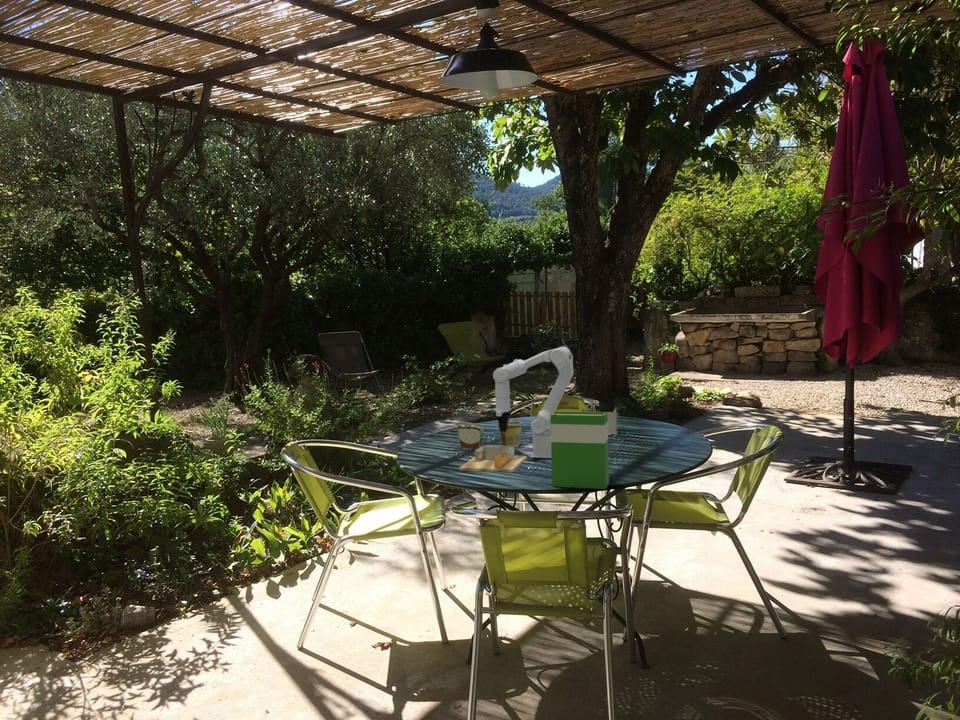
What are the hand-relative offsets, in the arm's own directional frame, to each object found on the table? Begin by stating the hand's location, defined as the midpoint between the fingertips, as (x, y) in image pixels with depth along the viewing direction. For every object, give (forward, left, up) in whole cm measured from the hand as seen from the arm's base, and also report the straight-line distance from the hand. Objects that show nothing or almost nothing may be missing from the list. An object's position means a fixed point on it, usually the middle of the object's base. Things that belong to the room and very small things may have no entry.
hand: (503, 431), depth 302 cm
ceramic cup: (+1, -17, -10) cm, 20 cm away
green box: (-38, +43, -10) cm, 58 cm away
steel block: (0, +13, -8) cm, 15 cm away
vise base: (-1, +17, -9) cm, 20 cm away
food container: (+16, -11, -10) cm, 22 cm away
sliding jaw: (-5, +18, -8) cm, 20 cm away
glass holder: (-33, -47, -10) cm, 58 cm away
